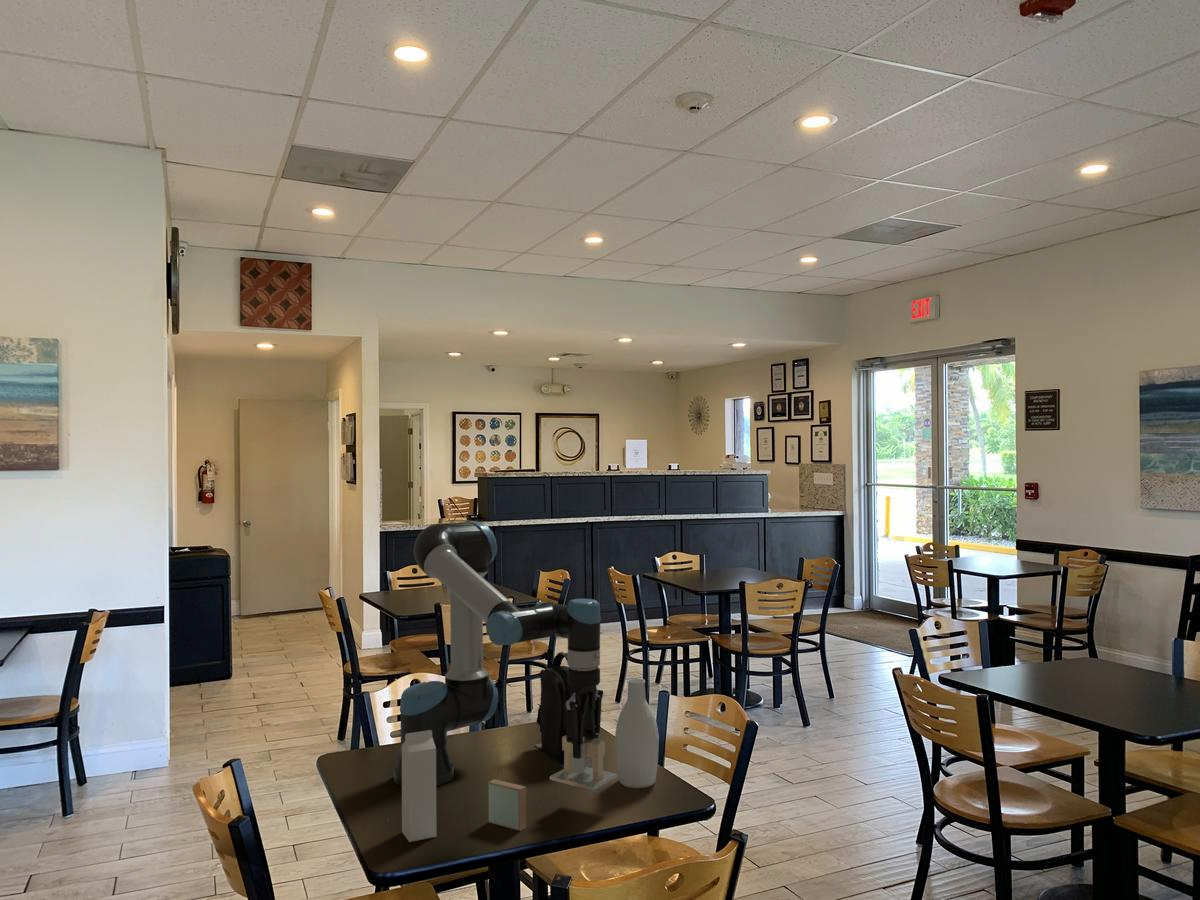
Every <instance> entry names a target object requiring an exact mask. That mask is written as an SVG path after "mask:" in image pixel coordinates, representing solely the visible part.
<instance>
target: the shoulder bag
mask: <svg viewBox="0 0 1200 900" xmlns="http://www.w3.org/2000/svg"><path fill="white" fill-rule="evenodd" d="M563 659H565V660H566V662H567V660H568V652H563V651H561V652H558V653H557V654H556V655H555V656H554V658H553V660H552V664H551V666H548V668H544V669H541V670H540V671H539V678H540V702H539V703H540V704H539V707H538V710H537V715H536V716H537V717H536V723H537V725H539V732H540V733H541V735H540V741H541V743H537V744H535V746H536V748H538V749H539V750H541V751H542V752H543V754H545V755H547V756H548V757H549V758H550V759H551V760H553V761H554V762H555V763H557V765H559V766H560V767H561V768H563V769H564V750H562V737H564V736H566V719H565V709H564V705H563V702H564V701H565V700H566V701H568V700H569V699H570V698H571V696H570V695H571V690H572V687H571V686H570V685H569V684H568V668H569V666H568V665H562V662H563ZM577 709H578V708H577ZM583 737H586V736H585V734H584V731H583Z"/></svg>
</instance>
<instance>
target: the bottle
mask: <svg viewBox="0 0 1200 900" xmlns="http://www.w3.org/2000/svg"><path fill="white" fill-rule="evenodd" d="M645 684H646V680H645V678H644V679H643V678H630V679H627V700H626V702H625V703H624V705H623V707H622V709H621V710H620V713H619V715H618V719H617V723H616V728H615V735H614V747H615V748H614V749H615V763H616V768H617V777H618V782H619V783H620V784H621V785H622V786H623V787H626V788H629V789H630V788H631V789H645V788H649V787H652V786H653V785H654V784H655V783H656V779H657V773H658V772H657V771H658V763H659V747H660V745H659V744H660V743H659V741H660V740H659V739H660V736H659V735H660V734H659V729H658V724H657V719H656V717H655V714H654V712H653V710H652V708H651V707H650V705H649V703H648V702H647V699H646V687H645V686H646V685H645Z"/></svg>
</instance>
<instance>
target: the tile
mask: <svg viewBox="0 0 1200 900" xmlns="http://www.w3.org/2000/svg"><path fill="white" fill-rule="evenodd" d="M487 786H488V789H487V790H488V795H487V796H488V797H487V798H488V804H487V805H488V823H489V824H492V825H496V826H500V827H503V828H508V829H512V830H514V831H518V832H522V831H523V830H525V829H527V787H526V786H523V785H520V784H516V783H513V782H508V781H504V780H499V779H495V778H494V779H492V780H489V781H488V785H487Z"/></svg>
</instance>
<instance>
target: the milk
mask: <svg viewBox="0 0 1200 900" xmlns="http://www.w3.org/2000/svg"><path fill="white" fill-rule="evenodd" d="M401 832H402V834H403V835H404V837H405V839H406V840H407V841H408V842H409V843H412V842H413V843H414V842H418V841H421V840H427V839H432V838H437V786H436V747H435V744H434V741H433V738H432V730H428V731H421V732H414V733H407V734H406V735H405V742H404V743H403V744H402V786H401Z"/></svg>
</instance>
